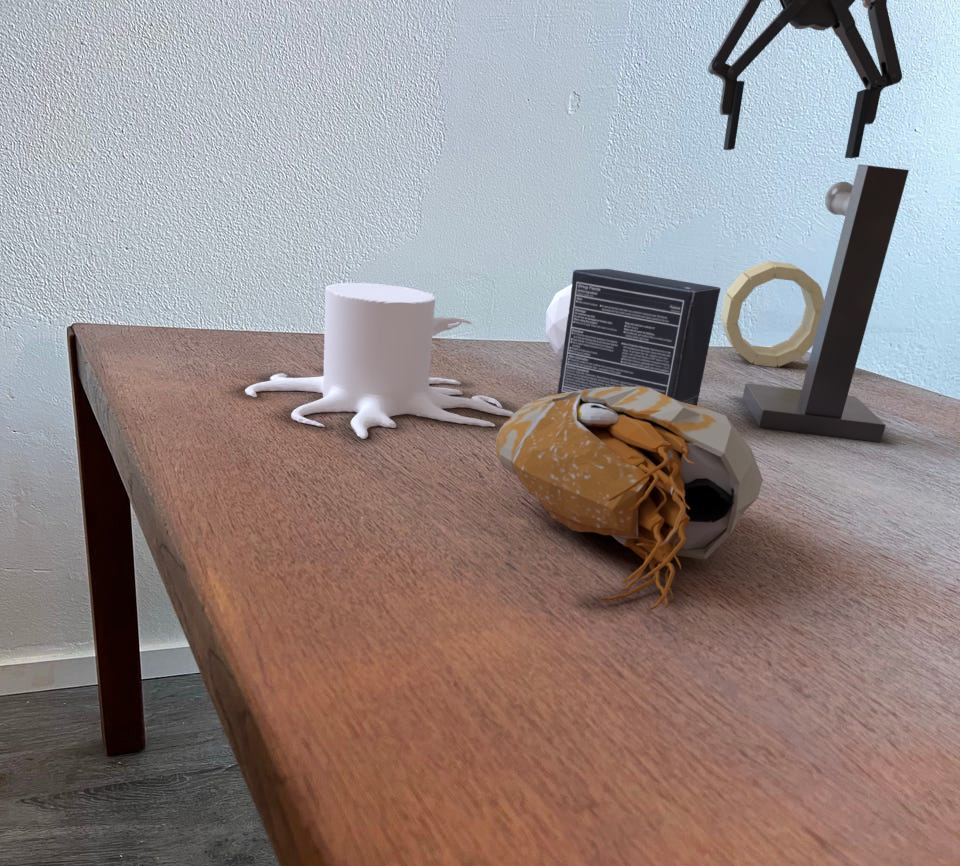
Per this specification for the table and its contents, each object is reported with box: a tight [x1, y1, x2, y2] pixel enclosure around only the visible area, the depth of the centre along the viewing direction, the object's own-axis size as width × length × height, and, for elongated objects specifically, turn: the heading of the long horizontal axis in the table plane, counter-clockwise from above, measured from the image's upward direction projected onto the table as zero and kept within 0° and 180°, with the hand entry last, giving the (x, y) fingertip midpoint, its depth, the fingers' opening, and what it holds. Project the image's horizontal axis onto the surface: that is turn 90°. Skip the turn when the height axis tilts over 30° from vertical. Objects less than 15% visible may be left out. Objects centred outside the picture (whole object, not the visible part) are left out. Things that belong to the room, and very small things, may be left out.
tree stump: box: [244, 282, 515, 440], centre depth 75 cm, size 20×19×8 cm
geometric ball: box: [545, 283, 572, 358], centre depth 96 cm, size 8×8×8 cm
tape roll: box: [720, 260, 825, 368], centre depth 105 cm, size 10×5×10 cm, turn 85°
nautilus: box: [494, 387, 764, 611], centre depth 53 cm, size 8×22×15 cm
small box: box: [556, 268, 722, 406], centre depth 80 cm, size 11×6×10 cm, turn 58°
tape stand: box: [741, 163, 910, 443], centre depth 83 cm, size 10×14×20 cm
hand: (790, 153), depth 109 cm, fingers open, 13 cm apart
